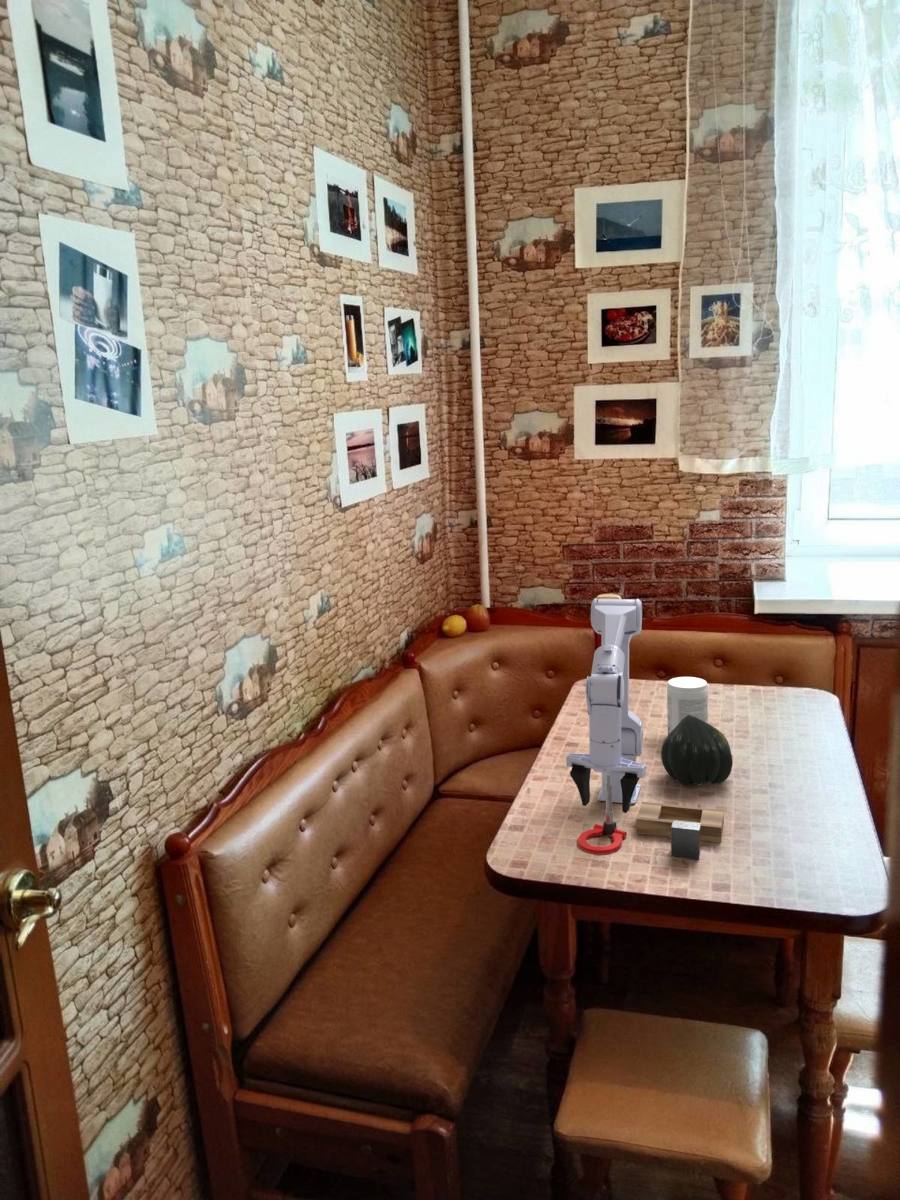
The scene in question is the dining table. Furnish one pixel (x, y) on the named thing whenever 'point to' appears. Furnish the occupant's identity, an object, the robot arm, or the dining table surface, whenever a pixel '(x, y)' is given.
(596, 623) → the robot arm
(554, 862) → the dining table surface
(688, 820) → the open wooden tray
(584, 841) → the tow hook
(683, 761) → the squash
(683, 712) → the supplement tub
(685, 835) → the grey rectangular prism
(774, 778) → the dining table surface
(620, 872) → the dining table surface
